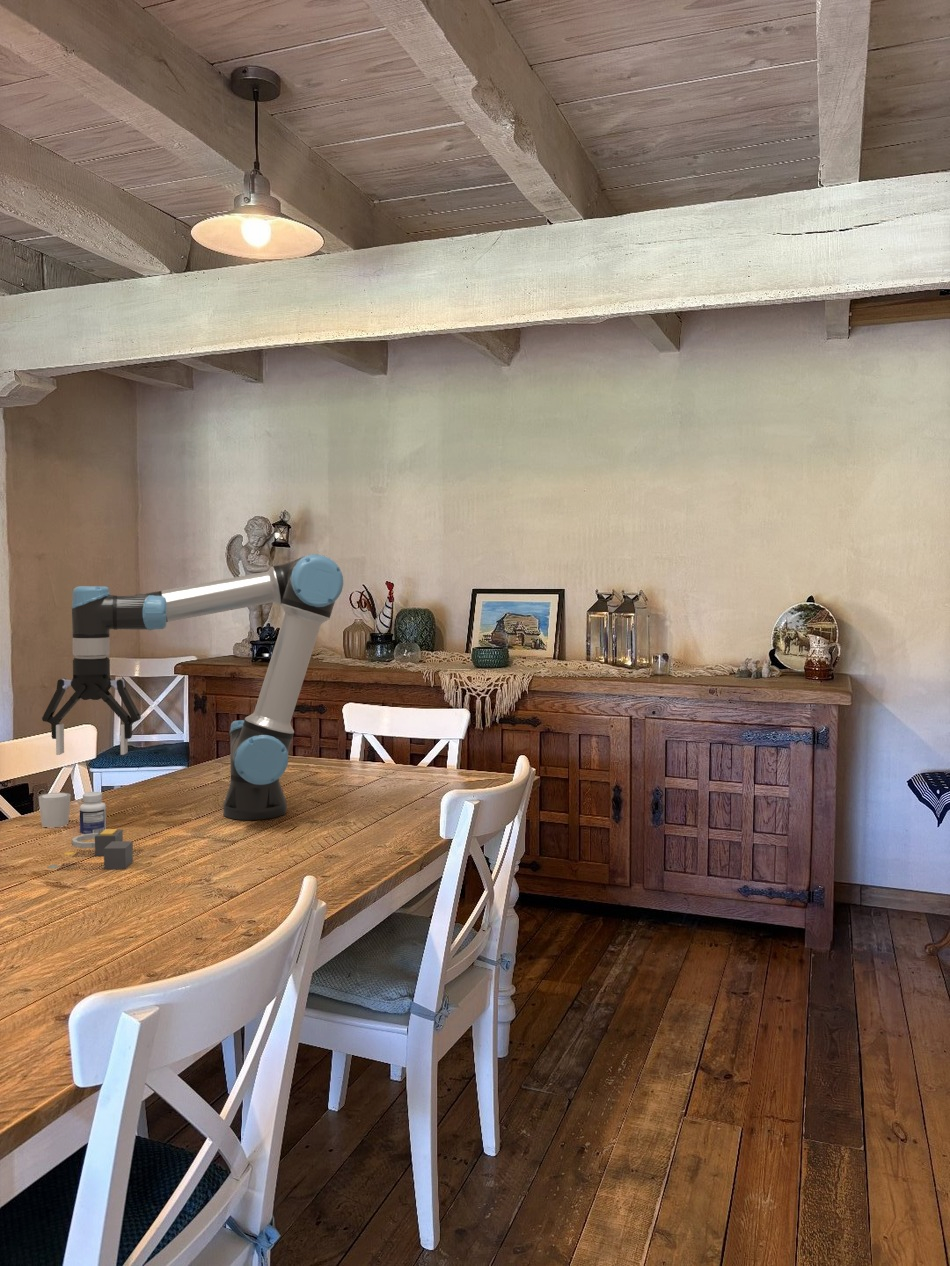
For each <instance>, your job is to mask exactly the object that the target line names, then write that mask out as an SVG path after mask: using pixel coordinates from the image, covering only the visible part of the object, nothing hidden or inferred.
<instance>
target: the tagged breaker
mask: <svg viewBox="0 0 950 1266" xmlns="http://www.w3.org/2000/svg"><path fill="white" fill-rule="evenodd" d="M123 837H124V836H123V829H117V828H106V829H105V830H102V831H101V832H99V833H98V834H97V835H96V836H95V839H94V842H95V848H94V853H95V854H94V855H95V856H96V857H97V856H104V848H105V847H106V846H107V845H108V844H110V843H111V842H112V841H124V838H123Z"/></svg>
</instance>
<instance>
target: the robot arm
mask: <svg viewBox="0 0 950 1266" xmlns="http://www.w3.org/2000/svg"><path fill="white" fill-rule="evenodd" d="M343 587H344V576H343V572H342V571H341V568H340V567H339V565H338V564H337V563H336V562H335V561H334V560H333V559H331V558H330V557H328V556H325V555H323V554H318V553H315V554H314V553H313V554H308V555H306V556H305V555H304V556H302V557H299V558H297V559H295V560H291V561H289V562H285V563H283V564H279V565H272V566H270V568H269V569H268V570H267V571H263V572H258V573H251V574H247V575H241V576H235V577H229V578H224V579H223V578H222V579H220V580H212V581H208V582H200V583H196V584H190V585H186V586H181V587H174V588H169V589H163V590H160V591H153V592H146V593H138V594H133V595H114V594H111V593H110V588H109V587H108V586H105V585H103V586H97V585H95V586H91V585H89V586H88V585H87V586H86V585H81V586H80V585H79V586H76V587H75V588H73V591H72V601H71V602H72V604H71V605H72V606H71V618H72V619H71V620H72V622H71V623H72V655H73V656H74V658H73V659H72V679H67V678H65V677H63V678H60V679H58V680H57V682H56V690H55V691H54V693H53V696H52V698H51V699H50V701H49V703H48V706H47V708H46V709H45V711H44V713H43V716H42V717H41V720H42V721H43V722H46V723H49V724H50V725H51V738H52V740H55V746H56V747H55V751H56V752H55V755H57V756H58V755H62V754H64V753H65V724H64V722H61V721H62V720H63V719H64V717H66V715H67V714H68V713H70V710H71V709H72V708H73V707H74V706H75V705H76V704H77V702H78V701H80V700H82V701H88V700H93V701H99V700H102V701H103V702H104V703H105V704H107V705H108V707H110V709H111V710H112V712H114V714H116V716H117V717H118V718H119V719H120V720H121V721H122V722H123V723H122V724H120V726H119V727H120V728H119V729H120V731H119V732H120V756H121V755H126V754H127V753H128V750H129V749H128V747H129V746H128V743H129V742H128V739H129V740H130V739H132V737H133V723H135V722H138V721H140V720H141V719H142V717H141V714H140V712H139V710H138V708H137V707H136V705H135V702H134V701H133V699H132V696H131V694H130V693H129V691H128V689H127V685H126V684H127V683H126V679H125V678H119V679H114V680H112V678H111V661H110V657H108V656H109V655H111V654H110V651H111V650H110V645H111V644H110V643H111V642H110V639H111V638H110V634H111V633H110V630H131V631H132V630H135V631H136V630H137V631H138V630H142V631H143V630H145V631H146V630H148V631H154V630H164V629H165V628H167V623H169V622H174V621H180V620H186V619H192V618H196V617H201V616H206V615H211V614H212V615H213V614H218V613H223V612H228V611H234V610H239V609H240V610H241V609H244V608H249V607H250V608H251V607H255V606H261V605H266V604H272V603H274V604H275V605H278V606H281V608H282V610H283V611H284V616H283V619H282V621H281V625H280V629H279V632H278V635H277V639H276V641H275V644H274V647H273V650H272V654H271V658H270V661H269V663H268V667H267V668H266V669H267V670H266V674H265V676H264V680H263V682H262V686H261V688H260V692H259V696H258V698H257V703H256V704H255V708H254V710H253V713H251V714H249V715H248V716H246V717H244V719H243V720H242V719H241V720H234V721H232V722H231V723H230V730H229V735H230V738H229V739H230V783H229V787H228V789H227V792H226V796H225V800H224V802H223V807H222V809H223V810H222V814H223V816H224V817H225V818H228V819H233V820H240V821H259V820H268V819H273V818H278V817H281V816H283V815H285V814H286V813H287V810H288V809H287V800H286V797H285V795H284V794H285V793H284V790H283V788H282V785H281V780H280V779H281V777H282V776H283V775H284V773H285V771H286V770H287V768H288V764H289V751H290V746H291V744H292V740H293V738H294V734H295V730H294V728H293V726H292V723H291V722H292V718H293V715H294V711H295V709H296V706H297V701H298V700H299V695H300V693H301V690H302V686H303V684H304V679H305V677H306V674H307V670H308V667H309V663H310V661H311V658H312V654H313V652H314V648H315V645H316V642H317V638H318V635H319V633H320V628H321V625H323V624H324V623H325V622H327V621H329V620H330V619H331V616H332V613H333V610H334V607H335V604H336V601H337V600H338V599H339V597H340V595H341V594H342V592H343ZM69 687H71V688H72V689H73V691H74V693H72V695H71V696H70V697H69V699H68V700H67V701H66V703H64V705H63V706H62V707H61V708H60V709H59V711H58V712H57V713H56V711H57V709H58V706H59V704H60V702H61V701H62V698H63V696H64V694H65V693H66V691H67V690H68V689H69ZM111 687H113V688H114V689H115V690H117V692H118V695H119V697H120V698H121V700H122V702H123V704H124V706H125V709H126V710H125V709H124V708H123V706H121V705H120V703H119V702H118V701H117V700H116V699H115V697H114V695H113V694H112V692H110V691H109V690H110V689H111ZM55 713H56V714H55ZM54 714H55V715H54Z"/></svg>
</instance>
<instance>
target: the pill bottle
mask: <svg viewBox="0 0 950 1266" xmlns="http://www.w3.org/2000/svg"><path fill="white" fill-rule="evenodd" d="M102 800H103V793H102V792H101V791H89V792H85V793H83V794H82V801H83V803H81V804H80V806H79V833H80V834H81V835H84V834H91V833H99V832H101V831H102V830H105V829H107V808H106V807H107V805H106V803H105V802H103V801H102Z"/></svg>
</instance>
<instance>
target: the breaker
mask: <svg viewBox="0 0 950 1266" xmlns="http://www.w3.org/2000/svg"><path fill="white" fill-rule="evenodd" d="M133 842H134V841H133V840H132V841H130V840H129V841H128V840H123V841H112V842H111V843H110V844H108V845H107V846H106V847H105V848H104V857H103V863H104V866H103V867H104V869H106V870H109V869H113V870H115V869H119V870H120V869H121V870H127V868H129V866H130V865H131V864H132V863H133V862H134V856H133V852H134V851H133V850H134V847H133V846H134V843H133Z"/></svg>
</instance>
